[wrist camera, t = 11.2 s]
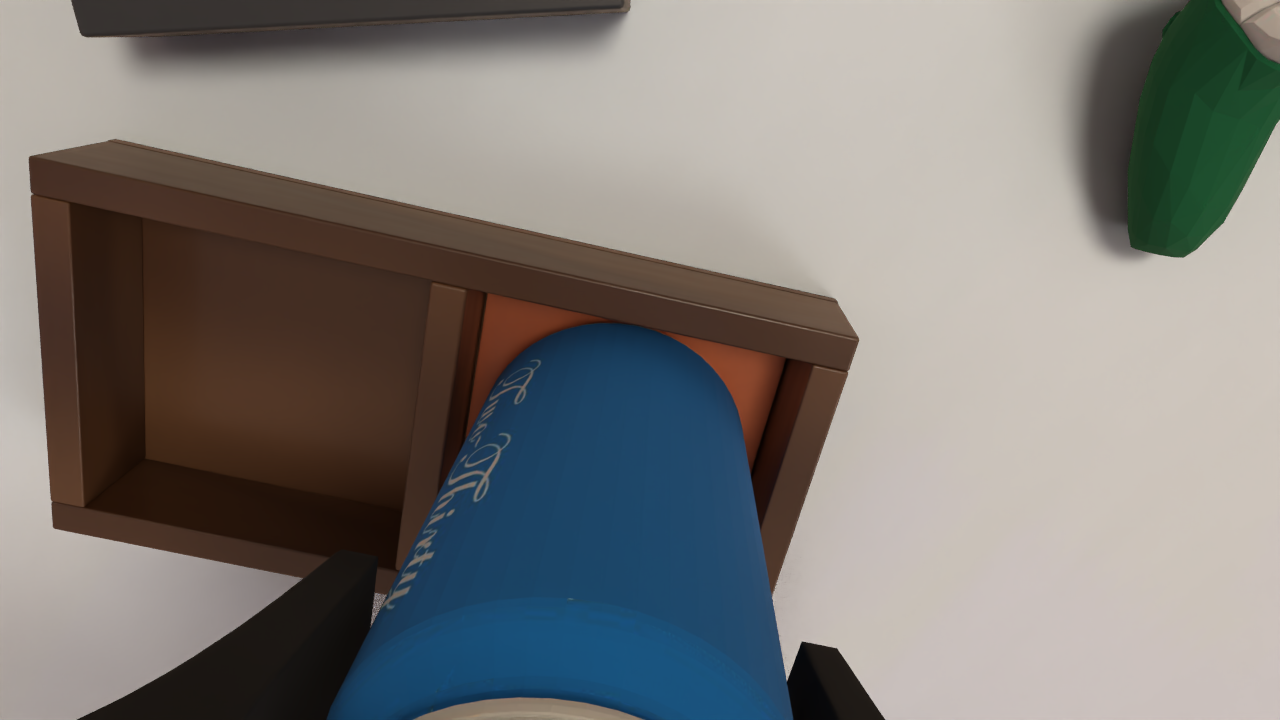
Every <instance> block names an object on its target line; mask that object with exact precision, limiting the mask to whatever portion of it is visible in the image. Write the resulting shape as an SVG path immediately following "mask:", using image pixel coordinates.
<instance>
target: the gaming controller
mask: <svg viewBox="0 0 1280 720" xmlns="http://www.w3.org/2000/svg"><path fill="white" fill-rule="evenodd" d="M1279 119H1280V0H1190V1H1189V2H1188V4H1187V5H1186V6H1185V7H1184V9H1183V10H1182V11H1179V12H1177V13H1176V14H1175V15H1174V16H1173V17H1172V18H1171V19H1170V20H1169V22H1168V23H1167V24H1166V26H1165V27H1164V29H1163V31H1162V41H1161V43H1160V45H1159V47H1158V49H1157V51H1156V53H1155V55H1154V57H1153V59H1152V62H1151V65H1150V69H1149V72H1148V75H1147V78H1146V81H1145V84H1144V87H1143V90H1142V93H1141V96H1140V100H1139V106H1138V112H1137V118H1136V124H1135V130H1134V136H1133V142H1132V148H1131V154H1130V160H1129V166H1128V233H1129V239H1130V245H1131V247H1132V248H1134V249H1138V250H1141V251H1145V252H1149V253H1154V254H1158V255H1164V256H1170V257H1185V256H1187V255H1188V254H1190V253H1191V252H1193V251H1195V250H1196V249H1197V248H1198V247H1199V246H1200V245H1201V244H1202V243H1203V242H1204V241H1205V240H1206V239H1207V238H1208V237H1209V236H1210V235H1211V234H1212V233H1213V232H1214V231H1215V230H1216V229H1218V228H1219V227H1220V226H1221V225H1222V224H1223V223H1224V221H1225V219H1226V217H1227V216H1228V214H1229V212H1230V210H1231V209H1232V207H1233V205H1234V204H1235V202H1236V200H1237V198H1238V197H1239V195H1240V193H1241V191H1242V190H1243V188H1244V186H1245V184H1246V182H1247V180H1248V178H1249V176H1250V174H1251V172H1252V170H1253V168H1254V166H1255V164H1256V162H1257V160H1258V158H1259V157H1260V155H1261V153H1262V151H1263V149H1264V147H1265V145H1266V143H1267V141H1268V139H1269V137H1270V135H1271V133H1272V131H1273V129H1274V127H1275V125H1276V124H1277V122H1278V121H1279Z"/></svg>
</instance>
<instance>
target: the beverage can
mask: <svg viewBox="0 0 1280 720" xmlns="http://www.w3.org/2000/svg"><path fill="white" fill-rule="evenodd" d="M326 720H793V715H792V709H791V703H790V698H789V692H788V686H787V681H786V675H785V669H784V663H783V658H782V652H781V646H780V641H779V635H778V629H777V623H776V618H775V612H774V606H773V601H772V595H771V589H770V584H769V578H768V572H767V566H766V561H765V555H764V549H763V544H762V538H761V532H760V526H759V521H758V515H757V509H756V504H755V498H754V492H753V486H752V481H751V475H750V469H749V464H748V458H747V452H746V447H745V441H744V435H743V429H742V424H741V420H740V416H739V412H738V409H737V407H736V404H735V402H734V400H733V397H732V395H731V393H730V392H729V390H728V388H727V386H726V385H725V383H724V381H723V380H722V379H721V378H720V376H719V375H718V374H717V373H716V371H715V370H714V369H713V368H712V367H711V366H710V365H709V364H708V363H707V362H706V361H705V360H704V359H703V358H702V357H701V356H700V355H698V354H697V353H696V352H694V351H693V350H692V349H690V348H689V347H688V346H686V345H684V344H683V343H681V342H679V341H677V340H675V339H674V338H672V337H670V336H667V335H665V334H662V333H660V332H657V331H655V330H652V329H648V328H644V327H640V326H636V325H629V324H622V323H595V324H586V325H580V326H576V327H572V328H568V329H564V330H561V331H559V332H556V333H554V334H551V335H549V336H547V337H545V338H543V339H541V340H539V341H537V342H536V343H534V344H532V345H531V346H530V347H528V348H527V349H525V350H524V351H523V352H521V353H520V354H519V355H518V356H517V357H516V358H515V359H514V360H513V361H512V362H511V363H510V364H509V365H508V366H507V367H506V368H505V369H504V371H503V372H502V373H501V375H500V376H499V377H498V379H497V380H496V382H495V384H494V386H493V388H492V389H491V391H490V393H489V395H488V397H487V399H486V401H485V403H484V405H483V407H482V409H481V411H480V413H479V415H478V417H477V419H476V421H475V423H474V425H473V427H472V429H471V431H470V433H469V434H468V436H467V438H466V440H465V442H464V444H463V446H462V448H461V450H460V452H459V454H458V456H457V458H456V460H455V462H454V464H453V466H452V468H451V470H450V472H449V474H448V476H447V478H446V480H445V482H444V484H443V486H442V488H441V490H440V492H439V494H438V496H437V498H436V500H435V502H434V504H433V506H432V508H431V510H430V512H429V514H428V516H427V517H426V519H425V521H424V523H423V525H422V527H421V529H420V531H419V533H418V535H417V537H416V539H415V541H414V543H413V545H412V547H411V549H410V551H409V553H408V555H407V557H406V559H405V561H404V563H403V565H402V567H401V569H400V571H399V573H398V575H397V577H396V579H395V581H394V583H393V585H392V587H391V589H390V591H389V593H388V595H387V597H386V599H385V601H384V602H383V604H382V606H381V608H380V610H379V612H378V614H377V616H376V618H375V620H374V622H373V624H372V626H371V628H370V630H369V632H368V634H367V636H366V638H365V640H364V642H363V644H362V646H361V648H360V650H359V652H358V654H357V656H356V658H355V660H354V662H353V664H352V666H351V668H350V670H349V672H348V674H347V676H346V678H345V680H344V682H343V684H342V685H341V687H340V689H339V691H338V693H337V695H336V697H335V699H334V701H333V703H332V705H331V707H330V710H329V713H328V716H327V719H326Z"/></svg>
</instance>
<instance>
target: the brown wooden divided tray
mask: <svg viewBox="0 0 1280 720" xmlns="http://www.w3.org/2000/svg"><path fill="white" fill-rule="evenodd" d="M29 171H30V186H31V192H32V193H33V195H31V207H32V222H33V237H34V252H35V267H36V282H37V298H38V313H39V328H40V343H41V358H42V373H43V388H44V403H45V418H46V433H47V448H48V464H49V479H50V494H51V501H53V502H52V519H53V528H55V529H59V530H64V531H69V532H74V533H79V534H84V535H89V536H94V537H99V538H104V539H109V540H114V541H119V542H124V543H129V544H134V545H139V546H144V547H149V548H154V549H159V550H164V551H169V552H174V553H179V554H184V555H189V556H194V557H199V558H204V559H209V560H214V561H219V562H224V563H229V564H234V565H239V566H244V567H249V568H254V569H259V570H264V571H269V572H274V573H279V574H284V575H289V576H294V577H299V578H305V577H306V576H307V575H309V574H310V573H311V572H312V571H314V570H315V569H316V568H317V567H318V566H320V565H321V564H322V563H323V562H325V561H326V560H327V559H328V558H330V557H331V556H332V555H333V554H335V553H336V552H338V551H340V550H341V549H343V550H348V551H353V552H358V553H363V554H368V555H373V556H378V565H377V574H376V583H375V593H380V594H385V595H388V593H389V591H390V589H391V587H392V585H393V583H394V581H395V579H396V577H397V575H398V573H399V571H400V569H401V567H402V565H403V563H404V561H405V559H406V557H407V555H408V553H409V551H410V549H411V547H412V545H413V543H414V541H415V539H416V537H417V535H418V533H419V531H420V529H421V527H422V525H423V523H424V521H425V519H426V517H427V516H428V514H429V512H430V510H431V508H432V506H433V504H434V502H435V500H436V498H437V496H438V494H439V492H440V490H441V488H442V486H443V484H444V482H445V480H446V478H447V476H448V474H449V472H450V470H451V468H452V466H453V464H454V462H455V460H456V458H457V456H458V454H459V452H460V450H461V448H462V446H463V444H464V442H465V440H466V438H467V436H468V434H469V433H470V431H471V429H472V427H473V425H474V423H475V421H476V419H477V417H478V415H479V413H480V411H481V409H482V407H483V405H484V403H485V401H486V399H487V397H488V395H489V393H490V391H491V389H492V388H493V386H494V384H495V382H496V380H497V379H498V377H499V376H500V375H501V373H502V372H503V371H504V369H505V368H506V367H507V366H508V365H509V364H510V363H511V362H512V361H513V360H514V359H515V358H516V357H517V356H518V355H519V354H520V353H521V352H523V351H524V350H525V349H527V348H528V347H530V346H531V345H532V344H534V343H536V342H537V341H539V340H541V339H543V338H545V337H547V336H549V335H551V334H554V333H556V332H559V331H561V330H564V329H568V328H572V327H576V326H580V325H586V324H595V323H622V324H629V325H636V326H640V327H644V328H648V329H652V330H655V331H657V332H660V333H662V334H665V335H667V336H670V337H672V338H674V339H675V340H677V341H679V342H681V343H683V344H684V345H686V346H688V347H689V348H690V349H692V350H693V351H694V352H696V353H697V354H698V355H700V356H701V357H702V358H703V359H704V360H705V361H706V362H707V363H708V364H709V365H710V366H711V367H712V368H713V369H714V370H715V371H716V373H717V374H718V375H719V376H720V378H721V379H722V380H723V381H724V383H725V385H726V386H727V388H728V390H729V392H730V393H731V395H732V397H733V400H734V402H735V404H736V407H737V409H738V412H739V416H740V420H741V424H742V429H743V435H744V441H745V447H746V452H747V458H748V464H749V469H750V475H751V481H752V486H753V492H754V498H755V504H756V509H757V515H758V521H759V526H760V532H761V538H762V544H763V549H764V555H765V561H766V566H767V572H768V578H769V584H770V589H771V595H772V594H773V591H774V588H775V585H776V583H777V580H778V577H779V574H780V571H781V568H782V565H783V562H784V559H785V556H786V553H787V550H788V548H789V545H790V542H791V539H792V536H793V533H794V530H795V527H796V524H797V521H798V518H799V515H800V513H801V510H802V507H803V504H804V501H805V498H806V495H807V492H808V489H809V486H810V483H811V480H812V477H813V475H814V472H815V469H816V466H817V463H818V460H819V457H820V454H821V451H822V448H823V445H824V442H825V440H826V437H827V434H828V431H829V428H830V425H831V422H832V419H833V416H834V413H835V410H836V407H837V404H838V402H839V399H840V396H841V393H842V390H843V387H844V384H845V381H846V378H847V375H848V372H847V371H848V370H849V369H850V366H851V363H852V360H853V357H854V354H855V351H856V348H857V345H858V342H859V338H858V336H857V334H856V333H855V331H854V330H853V328H852V326H851V325H850V323H849V321H848V320H847V318H846V316H845V315H844V313H843V312H842V310H841V308H840V307H839V305H838V302H837V301H836V299H834V298H829V297H825V296H820V295H816V294H811V293H807V292H802V291H798V290H793V289H789V288H784V287H780V286H775V285H771V284H766V283H762V282H757V281H753V280H748V279H744V278H739V277H735V276H730V275H726V274H721V273H717V272H712V271H708V270H703V269H699V268H694V267H690V266H685V265H681V264H676V263H672V262H667V261H663V260H658V259H654V258H649V257H645V256H640V255H636V254H631V253H627V252H622V251H617V250H613V249H608V248H604V247H599V246H595V245H590V244H586V243H581V242H577V241H572V240H568V239H563V238H559V237H554V236H550V235H545V234H541V233H536V232H532V231H527V230H523V229H518V228H514V227H509V226H505V225H500V224H496V223H491V222H487V221H482V220H478V219H473V218H469V217H464V216H460V215H455V214H451V213H446V212H442V211H437V210H433V209H428V208H424V207H419V206H415V205H410V204H406V203H401V202H397V201H392V200H388V199H383V198H379V197H374V196H370V195H365V194H361V193H356V192H352V191H347V190H343V189H338V188H334V187H329V186H325V185H320V184H316V183H311V182H307V181H302V180H298V179H293V178H289V177H284V176H280V175H275V174H271V173H266V172H262V171H257V170H253V169H248V168H244V167H239V166H235V165H230V164H226V163H221V162H217V161H212V160H208V159H203V158H199V157H194V156H190V155H185V154H181V153H176V152H171V151H167V150H162V149H158V148H153V147H149V146H144V145H140V144H135V143H131V142H126V141H122V140H117V139H113V140H108V141H106V142H101V143H96V144H90V145H85V146H80V147H75V148H70V149H64V150H59V151H54V152H49V153H44V154H38V155H33V156H30V157H29Z"/></svg>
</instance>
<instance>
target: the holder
mask: <svg viewBox="0 0 1280 720" xmlns="http://www.w3.org/2000/svg"><path fill="white" fill-rule="evenodd" d="M71 2H72V5H73V9H74V12H75V16H76V19H77V23H78V27H79V30H80V33H81V35H82V36H85V37H162V36H181V35H200V34H219V33H238V32H257V31H276V30H295V29H314V28H334V27H353V26H372V25H391V24H410V23H429V22H448V21H467V20H486V19H505V18H524V17H543V16H562V15H582V14H601V13H620V12H628V11H629V10H630V0H71Z"/></svg>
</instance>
